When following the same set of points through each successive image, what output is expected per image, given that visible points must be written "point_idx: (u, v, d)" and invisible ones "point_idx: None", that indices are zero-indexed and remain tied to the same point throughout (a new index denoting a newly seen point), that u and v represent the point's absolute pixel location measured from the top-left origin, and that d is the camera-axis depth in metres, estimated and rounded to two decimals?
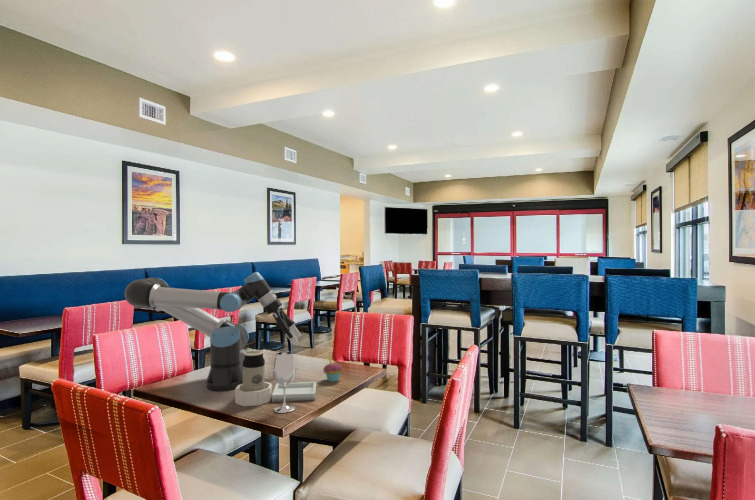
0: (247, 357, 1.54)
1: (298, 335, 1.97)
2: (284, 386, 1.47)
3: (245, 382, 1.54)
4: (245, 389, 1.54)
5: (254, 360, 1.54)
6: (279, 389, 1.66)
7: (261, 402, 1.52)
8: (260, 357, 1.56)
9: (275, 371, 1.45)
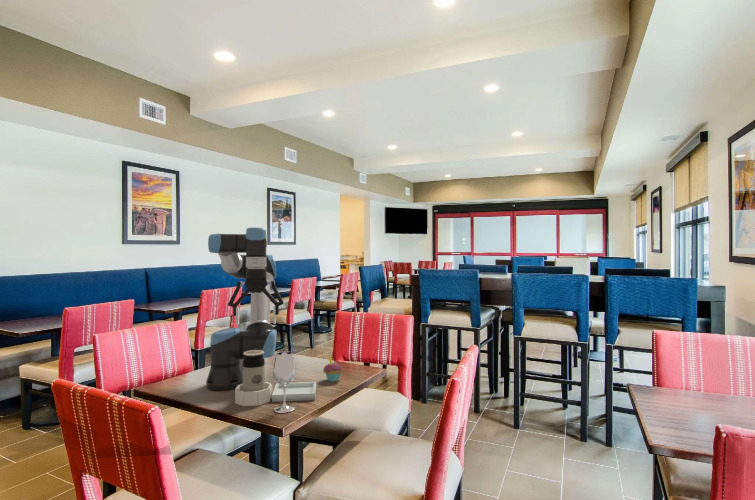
0: (247, 357, 1.54)
1: None
2: (284, 386, 1.47)
3: (245, 382, 1.54)
4: (245, 389, 1.54)
5: (254, 360, 1.54)
6: (279, 389, 1.66)
7: (261, 402, 1.52)
8: (260, 357, 1.56)
9: (275, 371, 1.45)
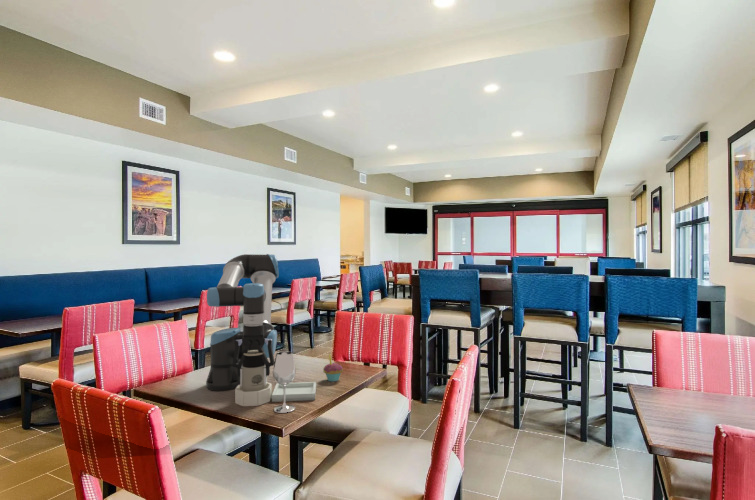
0: (247, 357, 1.54)
1: None
2: (284, 386, 1.47)
3: (245, 382, 1.54)
4: (245, 389, 1.54)
5: (254, 360, 1.54)
6: (279, 389, 1.66)
7: (261, 402, 1.52)
8: (260, 357, 1.56)
9: (275, 371, 1.45)
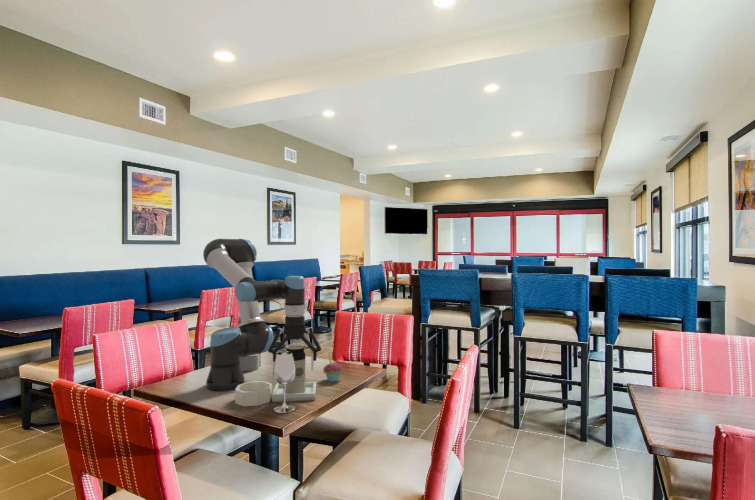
0: (289, 350, 1.60)
1: None
2: (284, 386, 1.47)
3: None
4: None
5: (296, 354, 1.60)
6: (279, 389, 1.66)
7: (261, 402, 1.52)
8: (302, 350, 1.61)
9: (275, 371, 1.45)
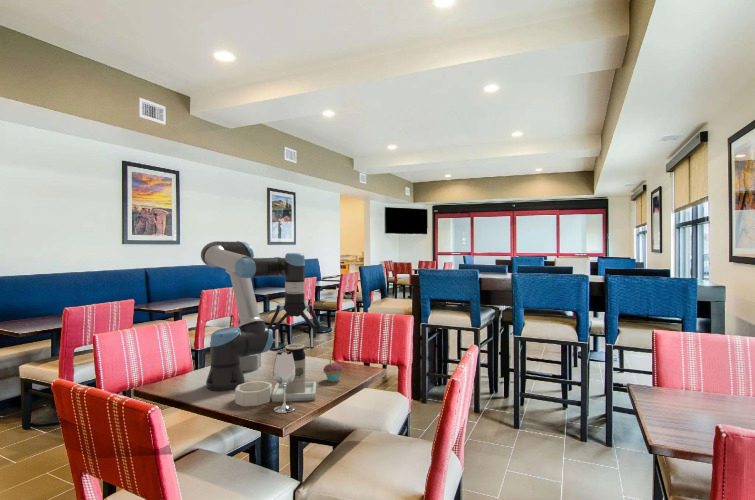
0: None
1: None
2: (284, 386, 1.47)
3: None
4: None
5: (296, 354, 1.59)
6: (279, 389, 1.66)
7: (261, 402, 1.52)
8: (301, 351, 1.61)
9: (275, 371, 1.45)
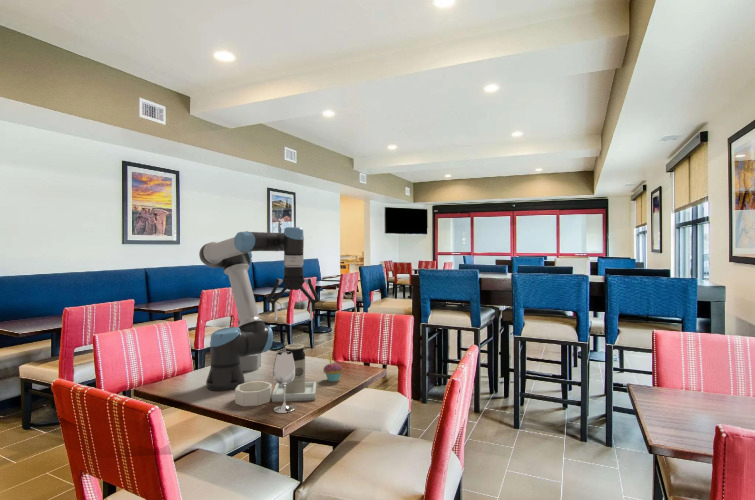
0: None
1: None
2: (284, 386, 1.47)
3: None
4: None
5: (296, 354, 1.60)
6: (279, 389, 1.66)
7: (261, 402, 1.52)
8: (301, 351, 1.61)
9: (275, 371, 1.45)
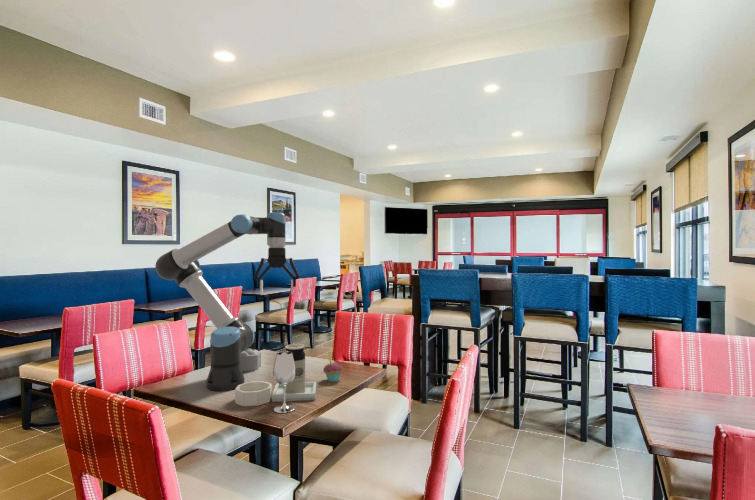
0: None
1: None
2: (284, 386, 1.47)
3: None
4: None
5: (296, 354, 1.59)
6: (279, 389, 1.66)
7: (261, 402, 1.52)
8: (301, 351, 1.61)
9: (275, 371, 1.45)
